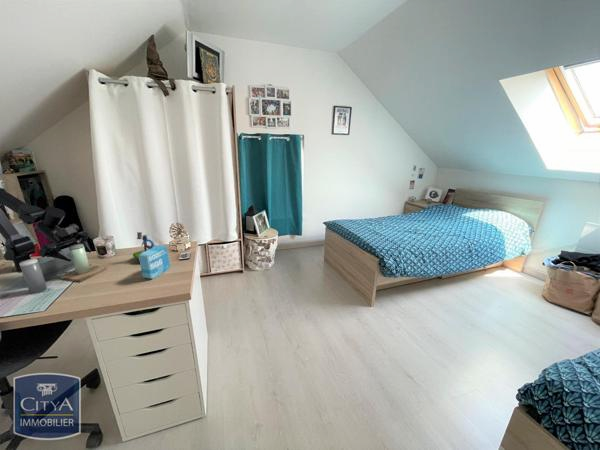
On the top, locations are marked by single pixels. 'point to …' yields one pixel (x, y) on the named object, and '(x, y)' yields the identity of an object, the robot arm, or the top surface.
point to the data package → (154, 262)
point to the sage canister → (79, 258)
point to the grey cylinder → (33, 276)
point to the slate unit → (55, 265)
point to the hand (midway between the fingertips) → (81, 256)
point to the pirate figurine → (144, 238)
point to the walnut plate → (82, 277)
